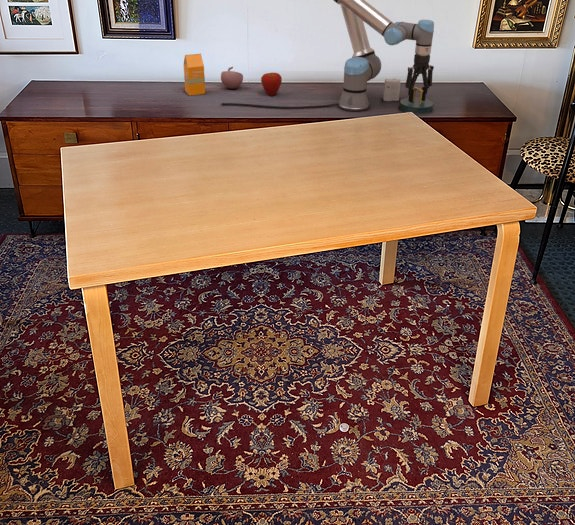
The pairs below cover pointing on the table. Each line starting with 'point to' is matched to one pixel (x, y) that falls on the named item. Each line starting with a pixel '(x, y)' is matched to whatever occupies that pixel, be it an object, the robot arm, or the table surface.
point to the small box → (391, 90)
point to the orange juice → (194, 74)
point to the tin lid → (417, 101)
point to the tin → (414, 109)
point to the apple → (271, 83)
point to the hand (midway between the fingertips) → (416, 101)
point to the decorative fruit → (231, 79)
